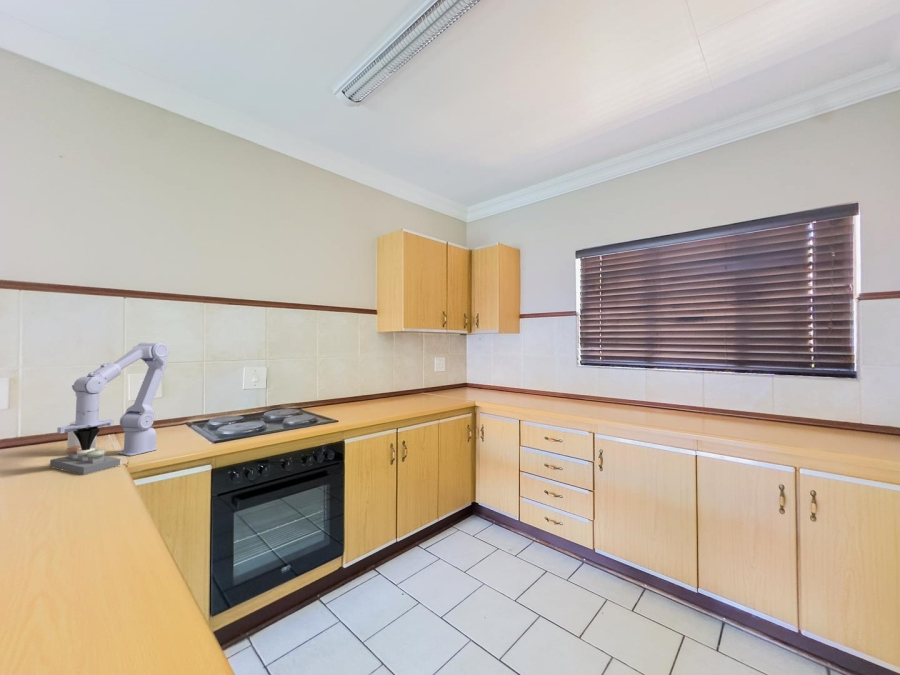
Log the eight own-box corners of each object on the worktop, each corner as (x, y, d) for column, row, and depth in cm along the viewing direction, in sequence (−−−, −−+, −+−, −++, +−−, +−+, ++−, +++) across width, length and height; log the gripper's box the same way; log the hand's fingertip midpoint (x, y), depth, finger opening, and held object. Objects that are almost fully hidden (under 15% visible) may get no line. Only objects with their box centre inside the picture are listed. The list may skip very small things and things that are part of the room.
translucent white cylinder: (77, 456, 139) (78, 424, 140) (61, 454, 141) (62, 423, 141) (101, 450, 147) (102, 420, 148) (86, 448, 149) (87, 419, 149)
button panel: (49, 467, 127) (50, 459, 127) (86, 458, 136) (87, 452, 136) (83, 475, 120) (83, 467, 120) (119, 465, 129) (120, 458, 129)
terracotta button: (80, 456, 133) (80, 445, 133) (87, 458, 132) (87, 446, 132) (63, 460, 129) (64, 448, 129) (70, 462, 127) (71, 449, 128)
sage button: (99, 461, 129) (100, 448, 129) (107, 462, 127) (107, 450, 127) (83, 464, 125) (84, 452, 125) (91, 466, 123) (91, 453, 123)
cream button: (89, 459, 131) (90, 447, 131) (97, 460, 129) (97, 448, 130) (73, 462, 127) (74, 450, 127) (80, 464, 125) (81, 451, 125)
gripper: (66, 415, 120) (64, 456, 120) (119, 408, 134) (117, 446, 134) (54, 413, 123) (52, 454, 122) (107, 407, 136) (105, 443, 136)
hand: (85, 449), depth 128 cm, fingers closed, pressing on cream button
